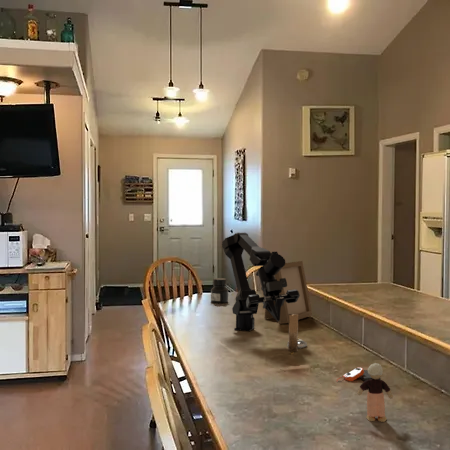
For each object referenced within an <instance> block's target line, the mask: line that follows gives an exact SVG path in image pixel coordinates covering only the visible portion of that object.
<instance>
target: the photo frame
mask: <svg viewBox="0 0 450 450" xmlns="http://www.w3.org/2000/svg"><path fill="white" fill-rule="evenodd" d="M275 278H276V279H277V281H280V279H281V278H286V281H287V287H283V290H281V291H282V292H281V293H280V295H282V294H286V292H287V290H295V289H296V290H298V291H299V294H300V296H299V298H298V300H297V302H295V303H287V302H286V301H284V303H283V305H282V306H281V310H280V321H277V322H278V325H281V324H289V314H298V321H299V320H303V319H306V318H309V317H311V316H313V311H312V306H311V301H310V295H309V291H308V284H307V279H306V274H305V267H304V264H303V260H299V261H290V262H285V265H284V267H283V268H282V269H281V270H280V271H279V272H278V273H277V274H276V275H275ZM274 305H275V301H274ZM264 309H265V308H264ZM264 319H275V318H274V317H273V316H272V315H271V313H270V312H269V311H268V310H267V309H265V310H264Z"/></svg>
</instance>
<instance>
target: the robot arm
mask: <svg viewBox="0 0 450 450" xmlns="http://www.w3.org/2000/svg"><path fill="white" fill-rule="evenodd" d="M221 245H222V247H221V248H222V249H223V252H224V255H225V256H226V257H227V258H228V259H229V260H230V264H231V269H232V272H233V276H234V281H235V284H236V289H237V293H236V296H235V302H234V305H233V306H232V308H231V309H232V314H234V315H235V327H234V331H243V332H244V331H246V332H251V331H252V330H253V329H255V317H254V315H257V314H258V308H259V305H260V304H263V306H262V308H263V309H267V310H268V311H269V312H270V313H271V315H272V316H273V317H274V318H273V319H274V320H275V321H276V322H278V321H280V310H281V306H282V305H283V303H284V301H286V302H287V303H295V302H297V300H298V298H299V296H300V294H299V291H298V290H296V289H295V290H287V292H286V294H282V295H280V293H281V292H282V291H281V290H283V287H287V281H286V278H281V279H280V281H277V279H276V278H275V275H276V274H277V273H278V272H279V271H280V270H281V269H282V268H283V267H284V265H285V263H286V259H285V258H284V256H282V255H281V254H279V252H278V251H270V250H269V249H267V248H264V247H261V246H259V245H258V244H257V242H255V241H254V240H253V239H252V238H251V237H250V236H249V233H247V232H236V233H234V234H232V235H230V236H227V237H225V238H224V239H223V240H222V243H221ZM244 251H245V252H246V253H247V254H248V256H249V261H250V262H251V264H252V266H253V267H259V268H258V269H257V271H256V273H255V276H257V277H258V279H259V282H260V286H261V288H260V289H261V291H262V294H263V296H261V297H260V294H259V293H257V292H256V290H255V289H251V287H250V284H249V280H248V276H247V273H246V268H245V264H244V260H243V253H244ZM274 301H275V305H274Z"/></svg>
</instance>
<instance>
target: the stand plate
mask: <svg viewBox="0 0 450 450" xmlns="http://www.w3.org/2000/svg"><path fill="white" fill-rule="evenodd" d="M299 337H300V336H298V341H304V340H303V339H301V338H299ZM290 355H294V352H291V351H290Z"/></svg>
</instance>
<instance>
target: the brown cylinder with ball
mask: <svg viewBox="0 0 450 450" xmlns="http://www.w3.org/2000/svg"><path fill="white" fill-rule="evenodd" d="M298 337H299V320H298V314H289V323H288V341H287V345H286V347H288V351H289V352H290V353H291V352H295V353H296V352H298V350H299V349H304V348H306V347H307V346H308V345H307V344H308V342H307V341H304V340H303V341H298Z"/></svg>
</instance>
